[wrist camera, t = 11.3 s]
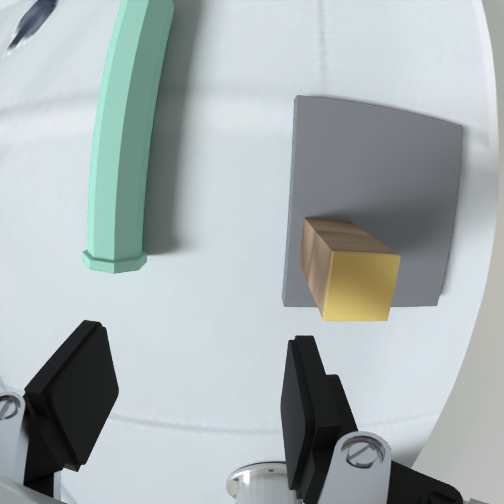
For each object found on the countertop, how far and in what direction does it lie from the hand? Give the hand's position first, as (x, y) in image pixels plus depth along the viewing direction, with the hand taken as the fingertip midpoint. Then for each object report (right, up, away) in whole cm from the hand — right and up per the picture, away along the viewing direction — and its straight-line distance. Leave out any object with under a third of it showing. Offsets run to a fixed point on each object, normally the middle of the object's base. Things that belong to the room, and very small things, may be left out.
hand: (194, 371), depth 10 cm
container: (-9, +16, +16) cm, 24 cm away
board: (+13, +8, +18) cm, 24 cm away
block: (+8, +5, +17) cm, 19 cm away
